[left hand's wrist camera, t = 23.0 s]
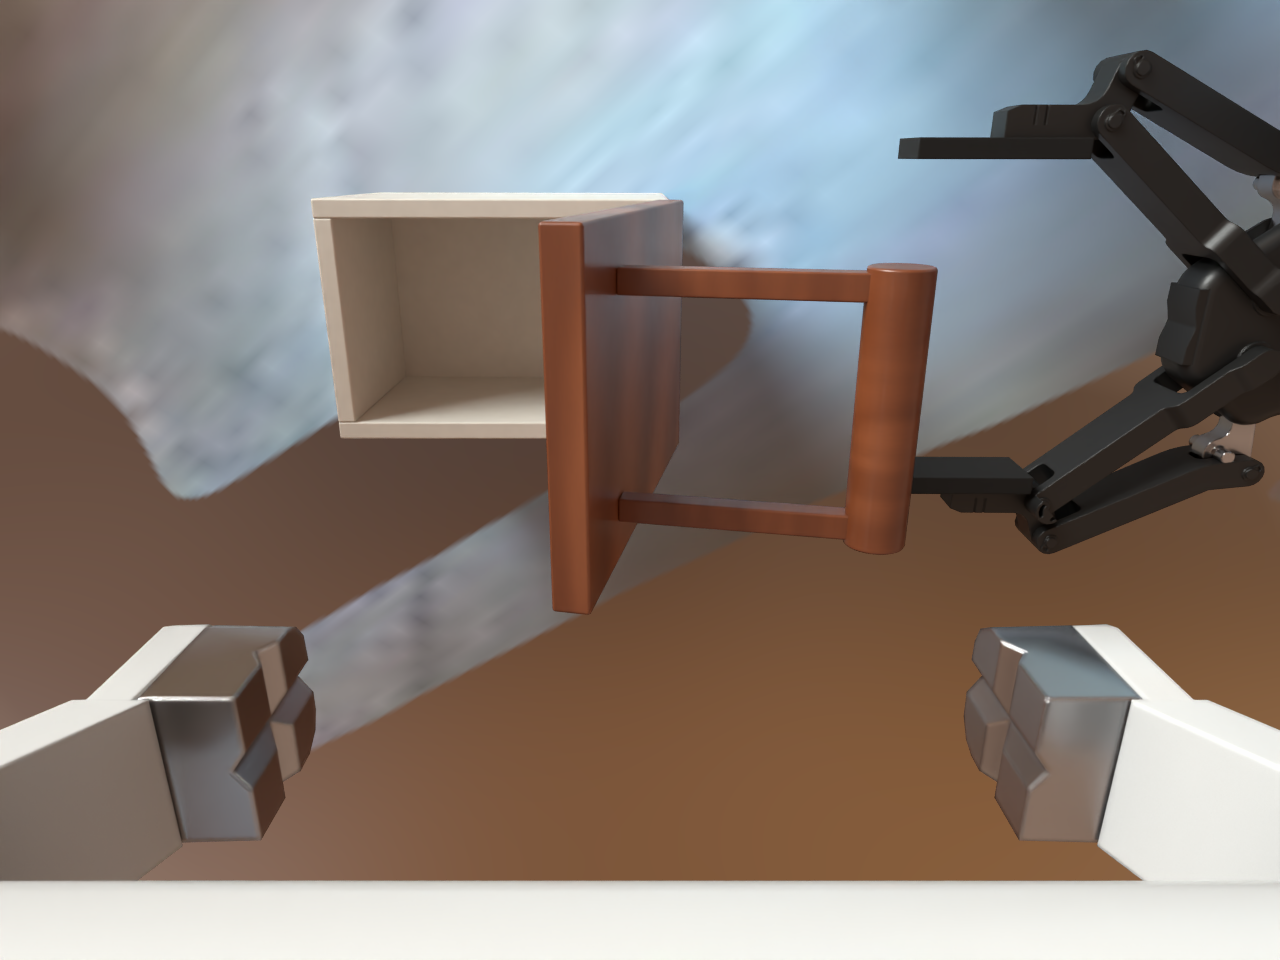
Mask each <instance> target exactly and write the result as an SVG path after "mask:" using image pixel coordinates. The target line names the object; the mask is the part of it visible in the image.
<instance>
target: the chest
mask: <svg viewBox="0 0 1280 960" xmlns="http://www.w3.org/2000/svg"><path fill="white" fill-rule="evenodd" d="M655 200H669V199H668V198H667V197H666V196H664V195H663V194H662V193H369V194H358V195H347V196H335V197H324V198H313V199H311V205H312V213H313V217H314V218H315V219H314V220H313V221H314V229H315V237H316V245H317V253H318V261H319V269H320V277H321V285H322V293H323V301H324V309H325V317H326V325H327V333H328V341H329V349H330V357H331V365H332V373H333V381H334V389H335V397H336V405H337V412H338V420H339V428H340V436H341V438H396V439H409V438H410V439H411V438H412V439H418V438H419V439H546V421H545V395H544V369H543V342H542V316H541V290H540V264H539V237H538V225H539V222H542V221H546V220H551V219H557V218H562V217H568V216H573V215H579V214H584V213H589V212H595V211H600V210H606V209H611V208H617V207H622V206H627V205H633V204H638V203H644V202H649V201H655Z"/></svg>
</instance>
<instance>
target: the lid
mask: <svg viewBox="0 0 1280 960" xmlns="http://www.w3.org/2000/svg"><path fill="white" fill-rule="evenodd" d="M538 237H539V264H540V290H541V316H542V342H543V369H544V395H545V421H546V448H547V474H548V500H549V527H550V553H551V579H552V605H553V610H554V611H557V612H567V613H577V614H591V612H592V610H593V608H594V606H595V604H596V602H597V600H598V598H599V596H600V595H601V593H602V591H603V589H604V587H605V585H606V583H607V581H608V579H609V577H610V575H611V573H612V571H613V569H614V567H615V566H616V564H617V562H618V560H619V558H620V556H621V554H622V552H623V550H624V548H625V546H626V544H627V542H628V540H629V538H630V537H631V535H632V533H633V531H634V529H635V527H636V525H637V523H643V524H656V525H668V526H681V527H693V528H706V529H718V530H731V531H743V532H756V533H768V534H781V535H794V536H806V537H818V538H831V539H843V542H844V543H845V544H846V545H847V546H848V547H850V548H852V549H854V550H856V551H859V552H863V553H868V554H876V555H886V554H893V553H897V552H899V551H901V550H902V549H903V547H904V546H905V539H906V531H907V523H908V514H909V506H910V497H911V489H912V481H913V473H914V464H915V456H916V448H917V439H918V431H919V423H920V414H921V406H922V398H923V389H924V381H925V373H926V364H927V356H928V348H929V339H930V331H931V323H932V315H933V306H934V298H935V290H936V281H937V273H938V270H937V268H936V267H934V266H930V265H923V264H911V263H878V264H872V265H869V266H868V267H867V270H826V269H783V268H740V267H696V266H682V253H683V201H682V200H655V201H649V202H644V203H638V204H633V205H627V206H622V207H617V208H611V209H606V210H600V211H595V212H589V213H584V214H579V215H573V216H568V217H562V218H557V219H551V220H546V221H542V222H539V225H538ZM682 297H694V298H727V299H761V300H794V301H828V302H861V303H864V307H863V317H862V328H861V339H860V350H859V361H858V372H857V383H856V394H855V404H854V415H853V426H852V437H851V448H850V459H849V470H848V481H847V492H846V503H845V508H842V507H829V506H815V505H802V504H788V503H774V502H761V501H747V500H734V499H720V498H706V497H693V496H679V495H665V494H653V492H654V490H655V488H656V486H657V484H658V482H659V480H660V479H661V477H662V475H663V473H664V471H665V469H666V467H667V465H668V463H669V461H670V459H671V457H672V455H673V453H674V451H675V450H676V448H677V446H678V444H679V414H680V360H681V305H682Z"/></svg>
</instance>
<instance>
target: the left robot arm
mask: <svg viewBox="0 0 1280 960" xmlns="http://www.w3.org/2000/svg"><path fill="white" fill-rule="evenodd" d="M307 661H308V656H307V651H306V646H305V641H304V635H303V634H302V633H301V632H300V631H299V630H298V629H297V628H296V627H272V626H219V625H216V626H212V625H175V626H167V627H163V628H162V629H161V630H160V631H159V632H158V633H157V634H156V635H154V636H153V637H152V638H151V639H150V640H149V641H148V642H147V643H146V644H145V645H144V646H143V647H142V648H141V649H140V650H139V651H138V652H136V653H135V654H134V655H133V656H132V657H131V658H130V659H129V660H128V661H127V662H126V663H125V664H124V665H123V666H122V667H121V668H119V669H118V670H117V671H116V672H115V673H114V674H113V675H112V676H111V677H110V678H109V679H108V680H107V681H106V682H105V683H104V684H103V685H101V686H100V687H99V688H98V689H97V690H96V691H95V692H94V693H93V694H92V695H91V696H90V697H89V698H88V699H87V700H71V701H69V702H66V703H64V704H62V705H59V706H57V707H54V708H52V709H50V710H47V711H45V712H42V713H40V714H38V715H35V716H33V717H30V718H28V719H26V720H23V721H21V722H19V723H16V724H14V725H11V726H9V727H7V728H4V729H2V730H0V960H1280V730H1278V729H1276V728H1273V727H1271V726H1268V725H1266V724H1264V723H1261V722H1259V721H1256V720H1254V719H1252V718H1249V717H1247V716H1245V715H1242V714H1240V713H1237V712H1235V711H1233V710H1230V709H1228V708H1226V707H1223V706H1221V705H1218V704H1216V703H1214V702H1211V701H1209V700H1193V699H1192V698H1191V697H1190V696H1189V695H1188V694H1187V693H1186V692H1185V691H1184V690H1183V689H1182V688H1181V687H1180V686H1179V685H1177V683H1175V682H1174V681H1173V680H1172V679H1171V678H1170V677H1169V676H1168V675H1167V674H1166V673H1165V672H1164V671H1163V670H1162V669H1161V668H1160V667H1159V666H1158V665H1156V664H1155V663H1154V662H1153V661H1152V660H1151V659H1150V658H1149V657H1148V656H1147V655H1146V654H1145V653H1144V652H1143V651H1142V650H1141V649H1140V648H1139V647H1137V646H1136V645H1135V644H1134V643H1133V642H1132V641H1131V640H1130V639H1129V638H1128V637H1127V636H1126V635H1125V634H1124V633H1123V632H1122V631H1120V629H1118V628H1116V627H1113V626H1110V625H1107V624H1103V625H1080V626H1030V627H990V628H983V629H980V631H979V633H978V635H977V638H976V640H975V644H974V650H973V655H972V661H973V662H974V664H975V665H976V667H977V668H978V670H979V671H980V673H981V675H982V676H981V677H980V678H979V680H978V681H977V682H976V683H975V684H974V685H973V686H972V687H971V688H970V689H969V690H968V691H967V694H966V702H965V711H964V723H965V733H966V740H967V744H968V747H969V750H970V753H971V756H972V758H973V760H974V762H975V763H976V765H977V767H978V769H979V771H981V772H982V773H984V774H985V775H987V776H989V777H990V778H992V779H993V780H995V781H996V782H997V786H996V792H995V799H996V801H997V803H998V804H999V806H1000V808H1001V810H1002V811H1003V813H1004V815H1005V816H1006V818H1007V820H1008V822H1009V823H1010V825H1011V827H1012V829H1013V830H1014V832H1015V834H1016V836H1017V837H1018V839H1019V840H1025V841H1062V842H1098V845H1097V846H1098V847H1099V848H1101V849H1102V850H1103V851H1105V852H1106V853H1107V854H1109V855H1110V856H1111V857H1112V858H1114V859H1115V860H1116V861H1118V862H1119V863H1121V864H1122V865H1123V866H1124V867H1126V868H1127V869H1128V870H1130V871H1131V872H1132V873H1134V874H1135V875H1136V876H1137V877H1139V878H1140V879H1141V880H1143V881H138V880H139V879H140V878H142V877H143V876H144V875H145V874H147V873H148V872H149V871H151V870H152V869H153V868H155V867H156V866H157V865H159V864H160V863H161V862H163V861H164V860H165V859H167V858H168V857H169V856H170V855H172V854H173V853H174V852H176V851H177V850H178V849H180V848H181V847H182V842H217V841H251V840H261V839H262V838H263V836H264V834H265V832H266V831H267V829H268V827H269V825H270V824H271V822H272V820H273V818H274V817H275V815H276V813H277V811H278V810H279V808H280V806H281V804H282V803H283V801H284V799H285V792H284V786H283V781H285V780H287V779H288V778H290V777H291V776H293V775H295V774H296V773H298V772H299V771H301V769H302V767H303V765H304V763H305V761H306V759H307V758H308V756H309V754H310V750H311V746H312V742H313V738H314V734H315V725H316V708H315V701H314V694H313V691H312V690H311V689H310V688H309V687H308V686H307V685H306V684H305V683H304V682H303V681H302V680H301V678H300V677H299V676H298V675H299V673H300V672H301V670H302V668H303V667H304V665H305V664H306V662H307Z"/></svg>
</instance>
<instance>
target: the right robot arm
mask: <svg viewBox="0 0 1280 960" xmlns="http://www.w3.org/2000/svg"><path fill="white" fill-rule="evenodd" d="M1093 81H1094V83H1093V85H1092V87H1091V89H1090V91H1089V93H1088V94H1087V96H1086V97H1085V98H1084V99H1083V100H1082V101H1081V102H1080V103H1078V104H1076V105H1016V106H1009V107H1005V108H1003V109H1001V110H998V111H996V112H994V115H993V122H992V129H991V137H990V138H936V137H920V138H905V139H900V145H899V154H898V159H1091V158H1092V159H1093V160H1094V161H1095V162H1096V163H1097V164H1098V166H1099V167H1100V168H1101V169H1102V170H1103V171H1104V172H1105V173H1106V174H1107V175H1108V176H1109V177H1110V178H1111V180H1112V181H1113V182H1114V183H1115V184H1116V185H1117V186H1118V187H1119V188H1120V189H1121V190H1122V191H1123V192H1124V194H1125V195H1126V196H1127V197H1128V198H1129V199H1130V200H1131V201H1132V202H1133V203H1134V204H1135V205H1136V206H1137V208H1138V209H1139V210H1140V211H1141V212H1142V213H1143V214H1144V215H1145V216H1146V217H1147V218H1148V219H1149V220H1150V222H1151V223H1152V224H1153V225H1154V226H1155V227H1156V228H1157V229H1158V230H1159V231H1160V232H1161V233H1162V234H1163V236H1164V237H1165V238H1166V245H1167V246H1168V247H1169V248H1170V249H1171V250H1172V251H1173V252H1174V254H1175V255H1176V256H1177V257H1178V258H1179V259H1180V260H1181V261H1182V262H1183V263H1184V264H1185V265H1186V266H1187V268H1188V269H1187V270H1186V271H1185V272H1184V273H1183V275H1182V276H1181V277H1180V279H1179V281H1178V283H1171V286H1170V291H1169V295H1168V300H1167V306H1168V320H1167V323H1166V325H1165V327H1164V329H1163V331H1162V333H1161V335H1160V337H1159V340H1158V345H1157V349H1156V354H1155V355H1157V356H1159V357H1161V362H1162V365H1163V366H1161V367H1160V368H1158V369H1157V370H1155V371H1154V372H1153V373H1151V374H1150V375H1148V376H1147V377H1145V378H1144V379H1142V380H1141V381H1140V382H1138V383H1137V384H1136V385H1135V387H1134V391H1133V393H1132V394H1131V395H1130V396H1128V397H1127V398H1125V399H1124V400H1122V401H1121V402H1119V403H1118V404H1116V405H1115V406H1113V407H1112V408H1111V409H1109V410H1108V411H1106V412H1105V413H1103V414H1102V415H1100V416H1099V417H1098V418H1096V419H1095V420H1093V421H1092V422H1090V423H1089V424H1087V425H1086V426H1085V427H1083V428H1082V429H1080V430H1079V431H1077V432H1076V433H1074V434H1073V435H1072V436H1070V437H1069V438H1067V439H1066V440H1064V441H1063V442H1061V443H1060V444H1059V445H1057V446H1056V447H1054V448H1053V449H1051V450H1050V451H1048V452H1047V453H1045V454H1044V455H1043V456H1041V457H1040V458H1038V459H1037V460H1035V461H1034V462H1032V463H1031V464H1030V465H1028V466H1027V467H1025V468H1024V469H1022V468H1021V467H1020V466H1018V465H1017V464H1016V463H1015V462H1014V461H1013V460H1011V459H1010V458H1009V457H915V464H914V473H913V481H912V489H911V494H941V495H940V497H941V498H942V499H943V500H944V501H945V503H946V504H947V505H948V506H949V507H950V508H951V509H954V510H956V511H959V512H977V513H982V512H985V513H1016V515H1017V516H1016V519H1015V525H1016V527H1017V528H1018V530H1019V531H1020V532H1021V533H1022V534H1023V535H1024V536H1025V537H1026V538H1027V539H1028V540H1029V541H1030V542H1031V543H1032V544H1033V545H1034V546H1035V547H1036V548H1037V549H1038V550H1039V551H1040V552H1042V553H1045V554H1051V553H1055V552H1057V551H1060V550H1062V549H1065V548H1067V547H1070V546H1072V545H1074V544H1077V543H1079V542H1082V541H1084V540H1087V539H1089V538H1092V537H1094V536H1097V535H1099V534H1101V533H1104V532H1106V531H1109V530H1111V529H1114V528H1116V527H1119V526H1121V525H1124V524H1126V523H1129V522H1131V521H1133V520H1136V519H1138V518H1141V517H1143V516H1146V515H1148V514H1151V513H1153V512H1156V511H1158V510H1161V509H1163V508H1165V507H1168V506H1170V505H1173V504H1175V503H1178V502H1180V501H1183V500H1185V499H1188V498H1190V497H1193V496H1195V495H1197V494H1200V493H1202V492H1205V491H1207V490H1214V489H1224V488H1234V487H1245V486H1251V485H1254V484H1255V483H1257V482H1259V481H1260V479H1261V478H1262V477H1263V474H1264V466H1263V464H1262V463H1261V462H1259V461H1257V460H1255V459H1253V458H1251V452H1252V445H1253V439H1254V432H1255V426H1256V423H1259V422H1261V421H1264V420H1266V419H1268V418H1270V417H1273V416H1276V415H1280V131H1279V130H1278V129H1276V128H1275V127H1273V126H1271V125H1270V124H1268V123H1267V122H1265V121H1263V120H1262V119H1260V118H1258V117H1257V116H1255V115H1254V114H1252V113H1250V112H1249V111H1247V110H1246V109H1244V108H1242V107H1241V106H1239V105H1237V104H1236V103H1234V102H1233V101H1231V100H1229V99H1228V98H1226V97H1225V96H1223V95H1221V94H1220V93H1218V92H1216V91H1215V90H1213V89H1212V88H1210V87H1208V86H1207V85H1205V84H1204V83H1202V82H1200V81H1199V80H1197V79H1196V78H1194V77H1192V76H1191V75H1189V74H1187V73H1186V72H1184V71H1183V70H1181V69H1179V68H1178V67H1176V66H1175V65H1173V64H1171V63H1170V62H1168V61H1166V60H1165V59H1163V58H1162V57H1160V56H1158V55H1157V54H1155V53H1154V52H1151V51H1148V50H1143V51H1137V52H1133V53H1128V54H1123V55H1118V56H1114V57H1109V58H1106V59H1104V60H1102V61H1101V62H1100V63H1099V64H1098V65H1097V66H1096V68H1095V71H1094V73H1093ZM1131 109H1133V110H1134V111H1136V112H1138V113H1139V114H1141V115H1143V116H1144V117H1146V118H1147V119H1149V120H1151V121H1152V122H1154V123H1156V124H1157V125H1159V126H1161V127H1162V128H1164V129H1166V130H1167V131H1169V132H1171V133H1172V134H1174V135H1176V136H1177V137H1179V138H1181V139H1182V140H1184V141H1186V142H1187V143H1189V144H1191V145H1192V146H1194V147H1195V148H1197V149H1199V150H1200V151H1202V152H1204V153H1205V154H1207V155H1209V156H1210V157H1212V158H1214V159H1215V160H1217V161H1219V162H1220V163H1222V164H1224V165H1225V166H1227V167H1229V168H1231V169H1233V170H1235V171H1237V172H1240V173H1243V174H1246V175H1250V176H1256V178H1255V180H1254V182H1253V187H1254V189H1256V190H1257V191H1258V194H1259V195H1260V196H1261V197H1263V198H1265V199H1267V200H1269V201H1270V202H1271V203H1272V206H1273V215H1272V218H1269V219H1266V220H1264V221H1261V222H1260V223H1258V224H1256V225H1255V226H1253V227H1252V228H1250V229H1248V230H1247V231H1244V230H1243V229H1242V228H1241V227H1239V226H1238V225H1236V224H1234V223H1232V222H1230V221H1229V220H1227V219H1226V218H1225V217H1224V216H1223V215H1222V214H1221V212H1220V211H1219V210H1218V209H1217V208H1216V207H1215V206H1214V205H1213V204H1212V202H1211V201H1210V200H1209V199H1208V198H1207V197H1206V196H1205V195H1204V193H1203V192H1202V191H1201V190H1200V189H1199V188H1198V187H1197V186H1196V185H1195V183H1194V182H1193V181H1192V180H1191V179H1190V178H1189V177H1188V176H1187V175H1186V173H1185V172H1184V171H1183V170H1182V169H1181V168H1180V167H1179V166H1178V165H1177V163H1176V162H1175V161H1174V160H1173V159H1172V158H1171V157H1170V156H1169V155H1168V153H1167V152H1166V151H1165V150H1164V149H1163V148H1162V147H1161V146H1160V144H1159V143H1158V142H1157V141H1156V140H1155V139H1154V138H1153V137H1152V136H1151V134H1150V133H1149V132H1148V131H1147V130H1146V129H1145V128H1144V127H1143V126H1142V124H1141V123H1140V122H1139V121H1138V120H1137V119H1136V118H1135V117H1134V116H1133V114H1132V113H1131V112H1130V110H1131ZM1182 388H1184V389H1185V390H1186V391H1187V392H1185V393H1177V391H1179V390H1180V389H1182ZM1213 413H1214V414H1215V415H1217V416H1219V417H1220V419H1219V422H1218V424H1217V426H1216V427H1215V428H1214V429H1213V430H1211V431H1210V432H1208V433H1205V434H1202V435H1194V436H1192V437H1191V438H1190V440H1189V445H1188V446H1182V447H1177V448H1173V449H1169V450H1167V451H1164V452H1161V453H1158V454H1156V455H1154V456H1151V457H1149V458H1146V459H1144V460H1142V461H1139V462H1137V463H1135V464H1132V465H1130V466H1127V467H1125V468H1123V469H1120V470H1118V471H1115V470H1117V469H1118V468H1120V467H1121V466H1123V465H1124V464H1126V463H1127V462H1129V461H1130V460H1132V459H1133V458H1135V457H1136V456H1138V455H1139V454H1141V453H1142V452H1144V451H1145V450H1147V449H1148V448H1150V447H1151V446H1153V445H1154V444H1156V443H1157V442H1159V441H1160V440H1161V439H1163V438H1165V437H1166V436H1167V435H1169V434H1170V433H1172V432H1173V431H1175V430H1177V429H1180V428H1189V427H1192V426H1194V425H1196V424H1198V423H1199V422H1201V421H1202V420H1204V419H1205V418H1207V417H1208V416H1210V415H1211V414H1213ZM1114 471H1115V472H1114ZM1112 472H1113V473H1112Z"/></svg>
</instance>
